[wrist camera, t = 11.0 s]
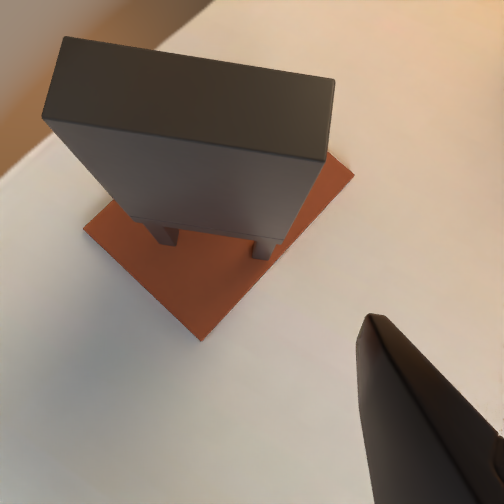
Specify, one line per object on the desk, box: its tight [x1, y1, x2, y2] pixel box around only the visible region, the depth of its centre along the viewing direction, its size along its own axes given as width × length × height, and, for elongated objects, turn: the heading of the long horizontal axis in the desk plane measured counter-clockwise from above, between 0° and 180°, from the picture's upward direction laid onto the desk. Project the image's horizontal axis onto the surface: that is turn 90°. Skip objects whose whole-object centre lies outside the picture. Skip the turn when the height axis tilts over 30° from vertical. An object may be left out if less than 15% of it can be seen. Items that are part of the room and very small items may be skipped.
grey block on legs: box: [42, 36, 335, 261], centre depth 15 cm, size 6×6×13 cm
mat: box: [83, 152, 354, 341], centre depth 21 cm, size 8×12×1 cm
